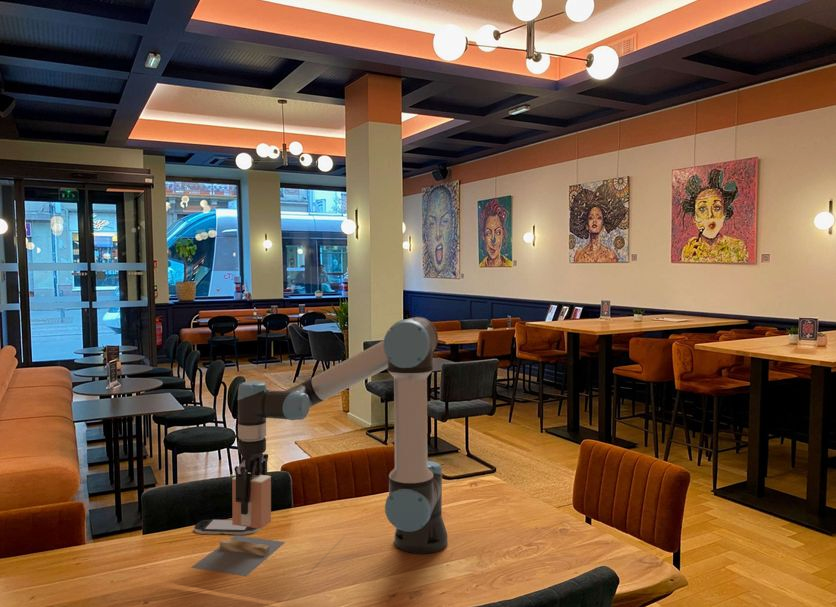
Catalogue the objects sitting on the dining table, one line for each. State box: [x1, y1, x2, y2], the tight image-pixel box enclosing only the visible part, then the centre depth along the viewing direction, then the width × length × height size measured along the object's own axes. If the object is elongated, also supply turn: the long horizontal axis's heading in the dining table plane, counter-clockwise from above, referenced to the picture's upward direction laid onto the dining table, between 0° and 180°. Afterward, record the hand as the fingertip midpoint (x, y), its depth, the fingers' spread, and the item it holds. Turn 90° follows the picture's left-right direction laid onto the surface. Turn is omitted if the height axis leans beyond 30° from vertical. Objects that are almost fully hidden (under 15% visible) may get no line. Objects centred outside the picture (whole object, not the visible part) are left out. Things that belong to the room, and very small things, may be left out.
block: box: [231, 474, 272, 530], centre depth 166 cm, size 9×5×13 cm, turn 74°
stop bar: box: [219, 538, 269, 556], centre depth 163 cm, size 14×2×2 cm, turn 74°
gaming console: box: [193, 518, 261, 536], centre depth 178 cm, size 19×9×3 cm, turn 87°
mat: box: [191, 535, 286, 577], centre depth 161 cm, size 16×20×1 cm
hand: (251, 520), depth 166 cm, fingers closed on block, 5 cm apart
